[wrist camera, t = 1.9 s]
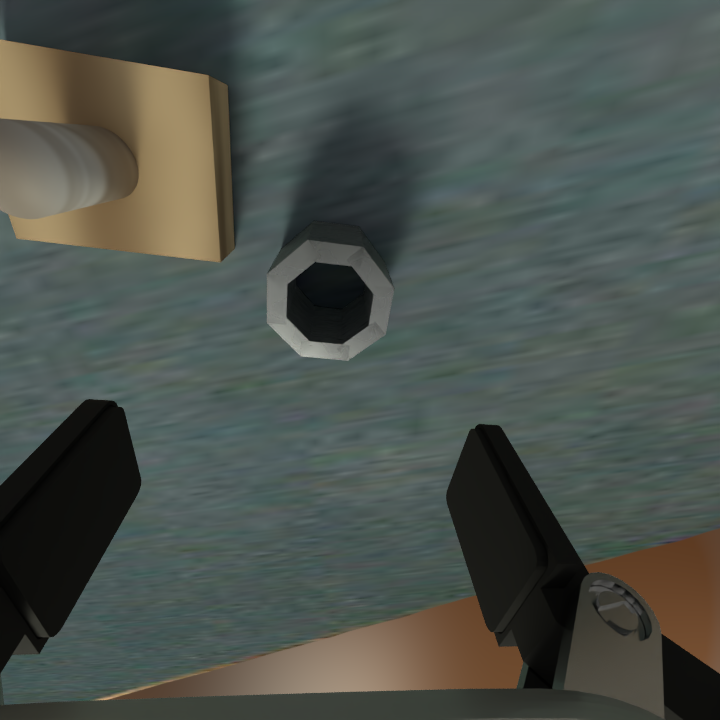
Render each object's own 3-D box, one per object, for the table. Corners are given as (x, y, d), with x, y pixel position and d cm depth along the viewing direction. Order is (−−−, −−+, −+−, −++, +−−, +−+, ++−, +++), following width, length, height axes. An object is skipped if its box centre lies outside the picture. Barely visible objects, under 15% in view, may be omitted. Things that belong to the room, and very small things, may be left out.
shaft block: (227, 85, 18) (148, 43, 10) (234, 248, 22) (181, 300, 14) (6, 47, 17) (-255, -28, 9) (57, 226, 21) (-98, 271, 13)
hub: (389, 230, 22) (401, 251, 17) (373, 326, 25) (380, 363, 21) (281, 216, 21) (266, 234, 17) (279, 316, 24) (266, 353, 20)
